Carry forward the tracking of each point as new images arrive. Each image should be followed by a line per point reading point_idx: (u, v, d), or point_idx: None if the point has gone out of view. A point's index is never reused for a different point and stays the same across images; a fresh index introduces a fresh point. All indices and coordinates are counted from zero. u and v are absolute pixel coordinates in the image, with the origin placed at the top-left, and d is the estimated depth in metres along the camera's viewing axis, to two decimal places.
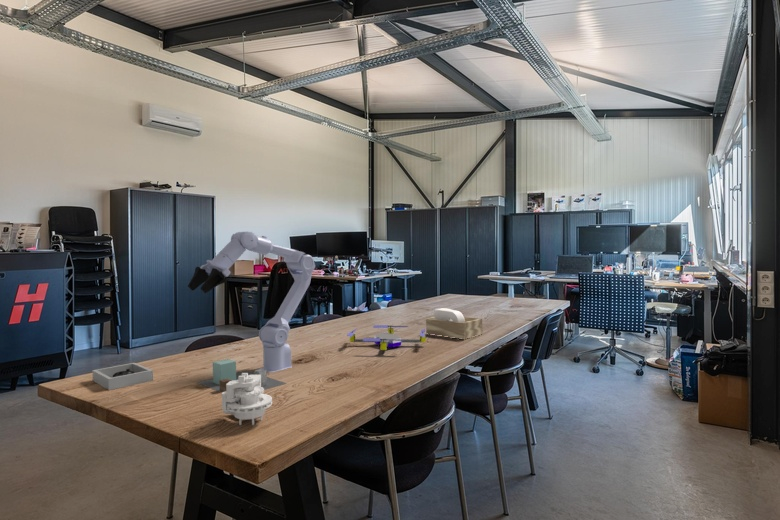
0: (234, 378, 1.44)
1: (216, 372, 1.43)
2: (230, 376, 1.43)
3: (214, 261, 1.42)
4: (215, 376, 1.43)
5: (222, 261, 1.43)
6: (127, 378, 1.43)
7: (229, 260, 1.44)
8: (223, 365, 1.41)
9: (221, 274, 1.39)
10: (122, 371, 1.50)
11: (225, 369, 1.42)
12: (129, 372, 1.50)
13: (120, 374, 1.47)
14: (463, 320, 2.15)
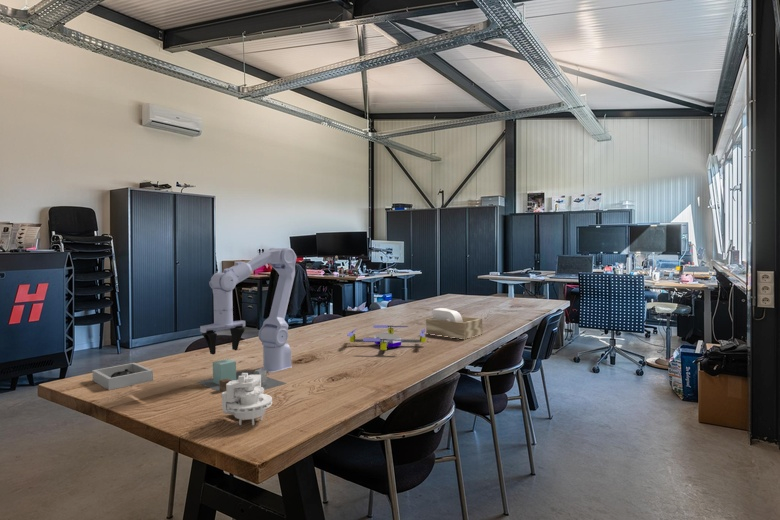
0: (234, 378, 1.44)
1: (216, 372, 1.43)
2: (230, 376, 1.43)
3: (230, 321, 1.43)
4: (215, 376, 1.43)
5: (232, 316, 1.45)
6: (127, 378, 1.43)
7: None
8: (223, 365, 1.41)
9: None
10: (120, 371, 1.50)
11: (225, 369, 1.42)
12: (127, 372, 1.50)
13: (118, 374, 1.47)
14: (461, 320, 2.15)
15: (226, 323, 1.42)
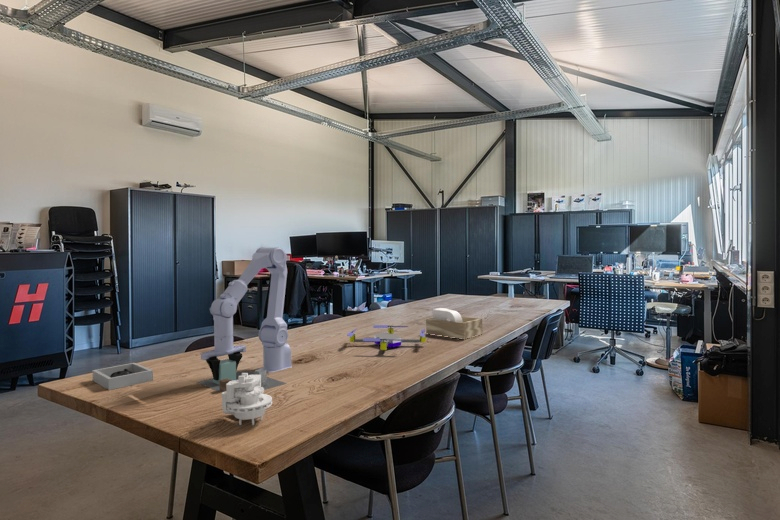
0: (234, 378, 1.44)
1: None
2: (230, 376, 1.43)
3: (231, 347, 1.43)
4: None
5: None
6: (127, 378, 1.43)
7: None
8: (223, 365, 1.41)
9: None
10: (120, 371, 1.51)
11: (225, 369, 1.42)
12: (127, 372, 1.50)
13: (118, 374, 1.47)
14: (460, 320, 2.15)
15: (227, 349, 1.42)
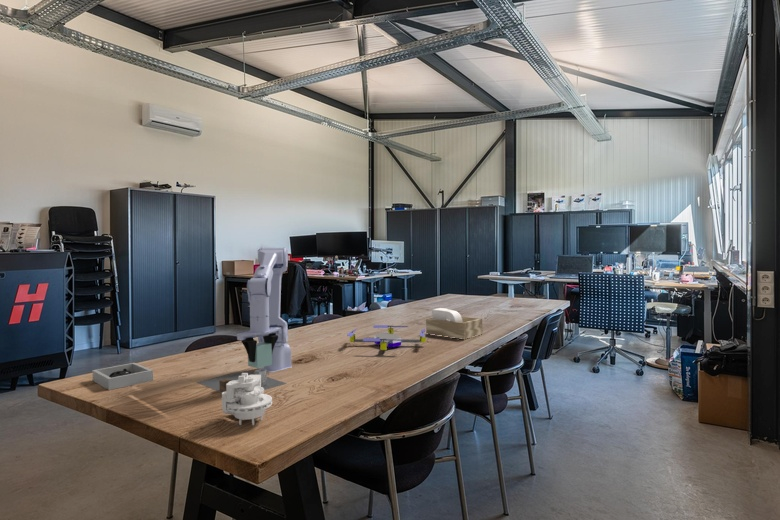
0: (270, 361, 1.39)
1: None
2: (266, 359, 1.38)
3: (267, 328, 1.38)
4: None
5: None
6: (127, 378, 1.43)
7: None
8: (259, 347, 1.37)
9: None
10: (119, 371, 1.51)
11: (261, 351, 1.37)
12: (126, 372, 1.51)
13: (118, 374, 1.47)
14: (460, 320, 2.15)
15: (263, 330, 1.37)
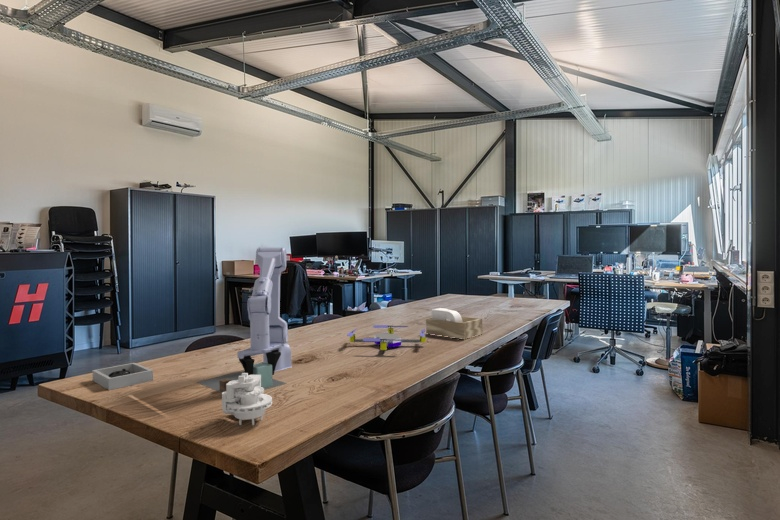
0: (270, 382, 1.39)
1: None
2: (266, 380, 1.38)
3: (267, 346, 1.38)
4: None
5: (269, 340, 1.40)
6: (127, 378, 1.43)
7: None
8: (260, 369, 1.37)
9: None
10: None
11: (262, 373, 1.37)
12: (126, 372, 1.51)
13: (117, 374, 1.48)
14: (460, 320, 2.15)
15: (263, 348, 1.37)
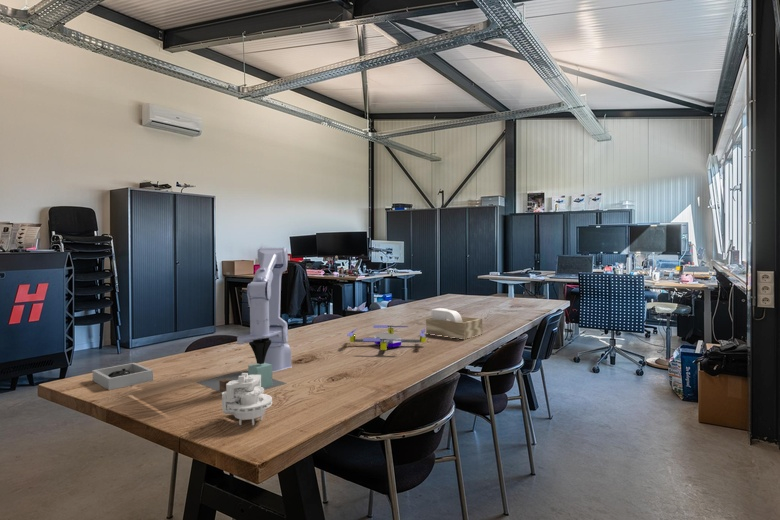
0: (270, 382, 1.39)
1: None
2: (266, 380, 1.38)
3: (267, 332, 1.38)
4: None
5: None
6: (127, 378, 1.43)
7: None
8: (260, 369, 1.37)
9: None
10: None
11: (262, 373, 1.37)
12: (126, 371, 1.51)
13: (117, 373, 1.48)
14: (460, 320, 2.15)
15: (263, 334, 1.37)
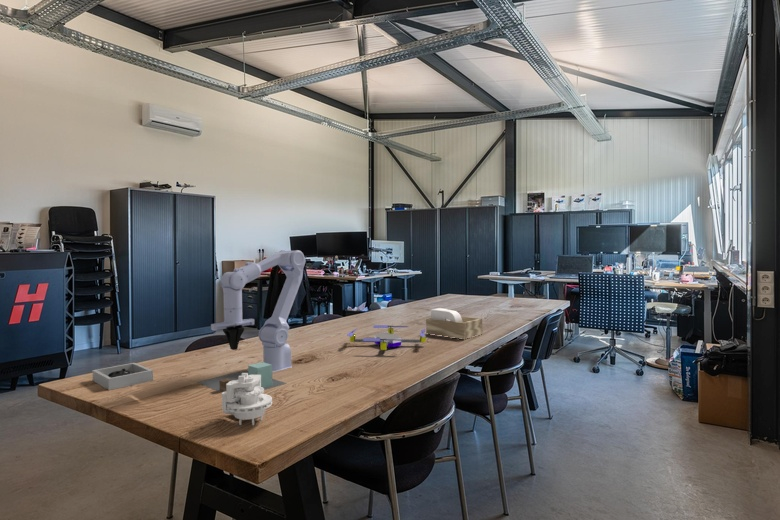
0: (270, 382, 1.39)
1: None
2: (266, 380, 1.38)
3: (240, 319, 1.47)
4: None
5: None
6: (127, 378, 1.43)
7: None
8: (260, 369, 1.37)
9: None
10: None
11: (262, 373, 1.37)
12: (125, 371, 1.51)
13: (117, 374, 1.48)
14: (460, 320, 2.15)
15: (236, 321, 1.45)
